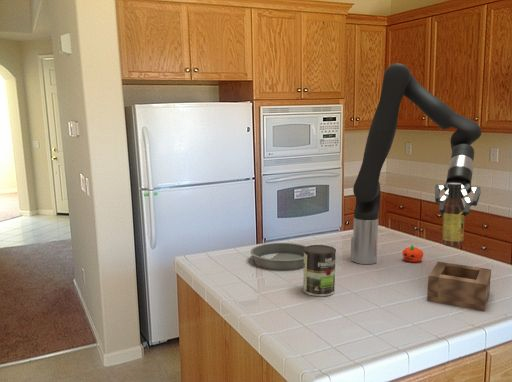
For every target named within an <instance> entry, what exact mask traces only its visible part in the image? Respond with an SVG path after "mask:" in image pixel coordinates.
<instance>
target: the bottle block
mask: <svg viewBox="0 0 512 382" xmlns="http://www.w3.org/2000/svg"><path fill="white" fill-rule="evenodd" d="M491 275H492V269H491V268H484V267H479V266H471V265H463V264H456V263H450V262H444V261H437V262H436V264H435V265H434V266H433V268H432V270H431V271H430V272H429V274H428V276H427V277H428V278H427V291H426V292H427V295H426V301H427V302H434V303H439V304H444V305H445V304H446V305H450V306H454V307H459V308H465V309H466V308H467V309H470V310H476V311H482V312H485V311H486V307H487V303H488V300H489V297H490V291H491V277H492V276H491Z"/></svg>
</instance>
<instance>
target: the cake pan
mask: <svg viewBox="0 0 512 382" xmlns="http://www.w3.org/2000/svg"><path fill="white" fill-rule="evenodd" d="M306 246H307V245H304V244H300V243H294V242H293V243H291V242H272V243H270V242H269V243H263V244H259V245H256V246H254V247H253V248H251V249H250V254H251V256H253V259H254V262H255V264H256V266H258V267H261V268H264V269H268V270H278V271H289V270H290V271H291V270H298V269H302V268H304V247H306ZM274 254H275V255H274ZM267 255H273V257H270V258H266V257H263V256H267Z"/></svg>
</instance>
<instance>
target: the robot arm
mask: <svg viewBox="0 0 512 382" xmlns="http://www.w3.org/2000/svg"><path fill="white" fill-rule="evenodd" d="M382 78H383V79H382V86H381V92H380V97H379V100H378V104H377V107H376V109H375V112H374V115H373V117H372V121H371V124H370V126H369V127H370V128H369V130H368V134H367V138H366V141H365V143H366V144H365V148H364V152H363V158H362V162H361V166H360V168H359V171H358V175H357V176H356V179H355V181H354V184H353V187H352V190H353V195H354V198H355V206H354V210H353V231H352V232H353V234H352V236H351V240H350V261H351V262H354V263H357V264H361V265H372V264H376V263H377V261H378V260H377V259H378V235H379V233H378V232H379V213H380V208H381V207H380V206H381V205H380V204H381V191H382V190H381V189H382V188H381V184H380V181H379V180H380V178H381V177H380V176H381V171H382V168H383V166H384V163H385V162H386V159H387V157H388V155H389V154H390V152H391V148H392V145H393V143H394V139H395V135H396V131H397V127H398V120H399V111H400V105H401V103H402V100H403V97H405V98H407V99H408V100H409V101H411V102H412V103H413V104H414V105H415V106H416V107H417V108H418V109H420V110H421V112H422V113H423V114H424V115H425V116H426V117H428V118H429V120H431V121H432V122H433V123H434V124H435V125H437V126H438V128H440V129H442V130H448V129H449V128H454V129H456V130H455V131H454V132H453V133H452V135H451V137H450V141H449V142H450V148H451V156H450V161H449V164H448V169H447V176H446V181H445V184H444V185H440V184H438V183H437V184H435V185H434V200H435V204H439V208H438V209H439V213H441V215H443V213H444V203H445V202H446V200H447V199H448V183H461V184H462V188H461V199H462V201H463V202H464V217H467V216H469V214H470V211H471V207H472V206H473V207H476V206H478V203H479V200H480V196H481V194H482V193H481V191H482V189H481V186H476V187H472V179H473V174H474V158H475V149H474V147H473V146H472V144H473V143H475V142H476V141H477V140H478V139H480V137H481V136H482V128H481V127H480V125H479V124H478V123H477V122H475V120H472V119H470V118H468V117H465V116H464V115H461V114H460V113H457V112H455V111H454V110H453V109H452V108H450V106H449V105H447V104H446V103H445V102H444V101H442V100H441V99H440V98H438V97H437V96H435V95H434V94H432V93H431V92H430V91H428V90H427V89H426V88H425V87H424V86H422V85H421V84H420V82H419V81H417V79H416V78H415V77H414V76H413V74H412V72H411V70H410V69H409V68H408V66H406V65H405V64H403V63H399V62H396V63H393V64H391V65H390V66H388V67H387V68H386V69H385V71H384V73H383V77H382ZM443 191H444V194H443V196H441V195H440V193H442V192H443ZM471 192H472V194H473V197H472V199H470V198H469V194H470V193H471ZM440 196H441V197H440Z"/></svg>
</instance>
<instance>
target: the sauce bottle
mask: <svg viewBox="0 0 512 382" xmlns="http://www.w3.org/2000/svg"><path fill="white" fill-rule="evenodd" d="M461 188H462V184H461V183H448V199H447V200H446V202H445V203H444V213H443V214H442V238H441V239H442V244H443V245H444V246H447V247H456V248H458V247H462V246H463V241H464V232H465V216H464V208H465V204H464V203H463V202H464V201H463V198H462V199H461Z"/></svg>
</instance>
